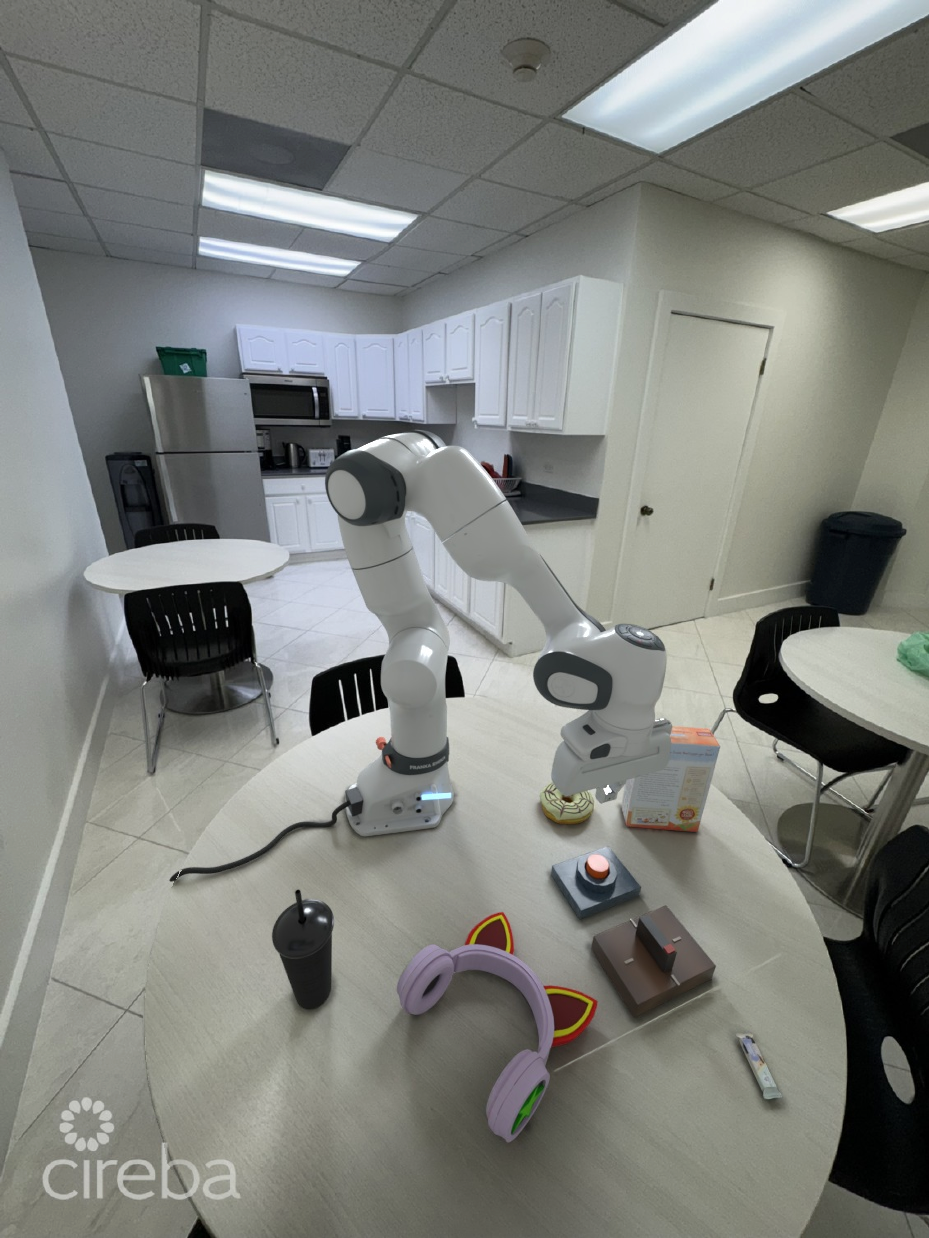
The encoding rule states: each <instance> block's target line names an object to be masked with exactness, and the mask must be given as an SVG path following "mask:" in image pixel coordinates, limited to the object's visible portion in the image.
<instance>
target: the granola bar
mask: <svg viewBox="0 0 929 1238" xmlns="http://www.w3.org/2000/svg"><path fill="white" fill-rule="evenodd" d="M735 1034H736V1035H735V1036H736V1038H738V1040H739V1044H740V1047H741V1049H742V1051H743V1052H744V1053H743V1054H744V1055H745V1057H746V1060H747V1061H748V1064H749V1066H750V1068H751V1070H752V1073H753V1074H754V1077H755V1079H756V1081H757V1083H758V1086H759V1087H760V1090H761V1091H762V1092H763V1095H762V1096H763V1099H764V1100H771V1099H776V1098H777V1099H780V1098H783V1094H782V1093H781V1092H780V1090H779V1089H778V1087H777V1084H776V1082H775V1079H774V1078H773V1076H772V1073H771V1072H770V1070H769V1068H768V1065H767V1063H766V1061H765V1060H764V1057H763V1055H762V1053H761V1051H760V1049H759V1047H758V1045H757V1043H756V1040H755V1038H754V1035H753V1033H752V1032H750V1033H735Z"/></svg>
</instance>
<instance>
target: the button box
mask: <svg viewBox="0 0 929 1238" xmlns="http://www.w3.org/2000/svg"><path fill="white" fill-rule="evenodd" d="M592 854H599V855H602V856H603V857H605V858H606V859H607V861H608V863H609V869H608V874H607V876H606V877H605V878H603V879H596V878H593V877H592V876H590V875H589V873H588V872H587V870H586V865H587V859H588V857H589V856H590V855H592ZM550 875H551V877H552V878H553V880H554V882H555V883H556V885H557V886H558V888H559V890H560V892H561V893H562V894H563V896H564V897H565V899H566V900H567V902H568V903H569V905H570V906H571V908H572V910H573V911H574V913H575V915H576V916H577V918H578V920H583V919H585V918H588V917H589V916H592V915H594V914H597V913H600V912H602V911H604V910H607V909H609V908H613V907H614V906H617V905H620V904H622V903H625V902H627V901H629V900H632V899H634V898H637V897H639V896H640V894H641V890H642V886H641V884H640V883H639V882H638V881H637V880H636V878H635V877H634V876H633V875H632V873H631V872H630V871H629V869H627V867H626V866H625V865H624V863H623V862H622V861H621V860H620V858H619V857H618V856H617V855H616V854H615V852H614V851H613V850H612V849H611V847H610V846H609V845H607V846H604V847H601V848H599V849H596V850H593V851H589V852H587V853H585V854H581V855H579V856H575V857H573V858H570V859H566V860H564V861H562V862H561V861H560V862H559V863H555V864H553V865H551V869H550Z"/></svg>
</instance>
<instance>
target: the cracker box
mask: <svg viewBox="0 0 929 1238" xmlns="http://www.w3.org/2000/svg"><path fill="white" fill-rule="evenodd" d="M670 737H671V751H670V758H669V762H668V765H667V766H666V767H665V768H664V769H663V770H661V771H657V772H654V773H650V774H646V775H643V776H639V777H635V778H632V779H628V780H627V781H626V784H625V785H624V786H623V788H624V789H623V793H622V800H621V805H620V807H621V812H622V815H623V819H624V823H625V826H626V827H628V828H629V827H630V828H641V829H655V830H667V831H679V832H689V833H690V832H691V833H698V832H699V828H700V825H701V821H702V818H703V814H704V810H705V806H706V803H707V800H708V795H709V791H710V787H711V784H712V779H713V776H714V772H715V769H716V765H717V760H718V757H719V754H720V749H721V745H720V743H719V741H718V740H717V738H716V737H715V735H714V734H713V732H712V730H711V729H710V728H703V727H702V728H701V727H690V726H675V725H672V730H671V734H670Z"/></svg>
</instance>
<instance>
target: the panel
mask: <svg viewBox="0 0 929 1238" xmlns="http://www.w3.org/2000/svg"><path fill="white" fill-rule="evenodd" d="M647 914H648V915H649V917H650V918H651V919H652V920H653V922H654V923H655V924H656V926H657V927H658V928H659V929H660V931H661V932H662V933H663V935H664V936H665V937H666V939H667V940H668V941H669V942H670V944H671V945H672V946H673V947H674V949H675V950H676V952H677V954H676V958H675V961H674V964H673V968H671V969H669V970H667V971H665V972H663V971H662V969H661V968H660V966H659V965H658V964H657V962H656V961H655V960H654V958H653V957H652V955H651V954H650V953H649V951H648V950H647V948H646V947H645V946H644V944H643V943H642V942H641V940H640V939H639V937H638V936H637V935H636V929H637V925H638V921H639V918H640V917H643V916H645V915H647ZM590 949H591V950H592V953H593V954H594V956H595V958H596V959H597V961H598V963H600V965H601V967H602V968H603V970H604V972H605V973H606V975H607V977H608V979H609V980H610V981H611V983H612V985H613V986H614V988H615V990H616V991H617V993H618V995H619V996H620V998H621V999H622V1001H623V1003H624V1004H625V1006H626V1007H627V1009H628V1010H629V1012H630V1014H631V1016H632V1017H633V1018H637V1017H639V1016H642V1015H643V1014H645V1013H647V1012H649V1011H651V1010H653V1009H655V1008H657V1007H659V1006H661V1005H663V1004H665V1003H668V1002H669V1001H671V1000H672V999H675V998H677V997H679V996H681V995H683V994H684V993H686V992H688V991H690V990H692V989H694V988H696V987H698V986H701V985H702V984H704V983H706V982H708V981H710V980H712V979H713V975H714V974H715V971H716V968H717V965H716V964H715V963H714V961H713V960H712V959H711V958H710V956H709V955H708V954H707V953H706V952H705V950H704V949H703V948H702V946H700V944H699V943H698V941H697V940H696V939H695V938H694V937H693V936H692V935H691V933H690V932H689V931H688V930H687V928H686V927H685V926H684V925H683V924H682V922H681V921H680V920H679V919H678V918H677V916H676V915H675V914H674V913H673V912H672V910H671V909H670V908H669V907H668V906H667V905H664V906H661V907H659V908H657V909H654V910H651V911H649V912H647V913H644V914H642V915H640V916H637V917H635V918H630V919H629V920H628V921H626V922H623V923H620V924H618V925H616V926H614V927H612V928H609V929H606V930H603V931H602V932H599V933H597V934H594V935H593V936H592V942H591V947H590Z"/></svg>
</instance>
